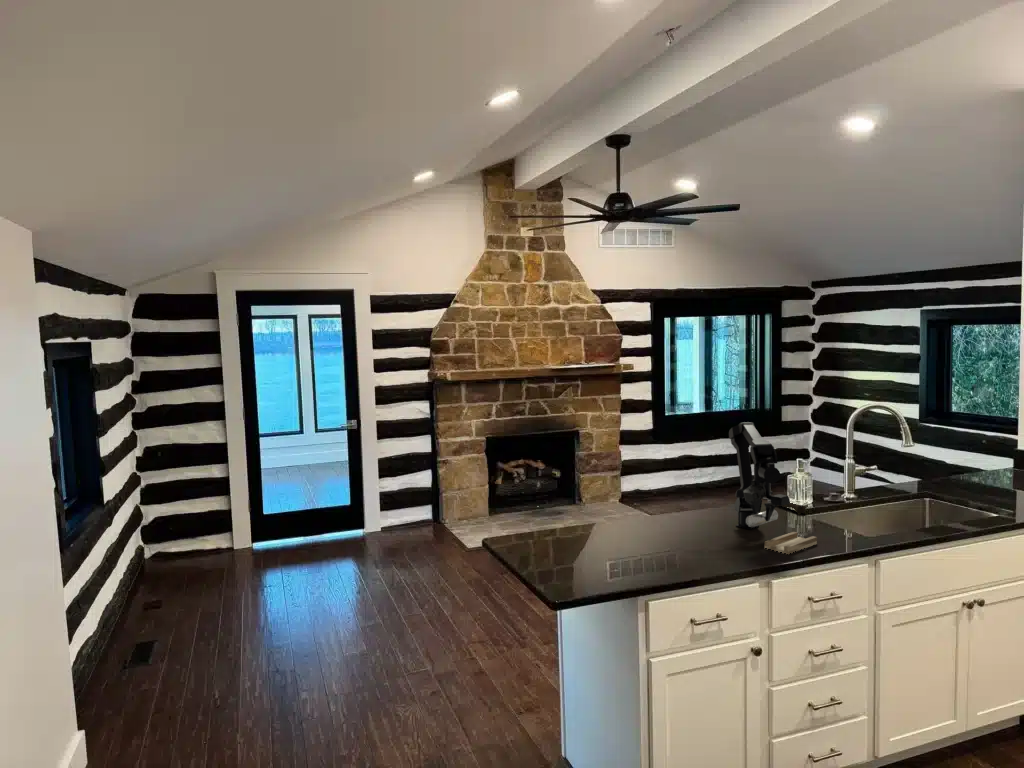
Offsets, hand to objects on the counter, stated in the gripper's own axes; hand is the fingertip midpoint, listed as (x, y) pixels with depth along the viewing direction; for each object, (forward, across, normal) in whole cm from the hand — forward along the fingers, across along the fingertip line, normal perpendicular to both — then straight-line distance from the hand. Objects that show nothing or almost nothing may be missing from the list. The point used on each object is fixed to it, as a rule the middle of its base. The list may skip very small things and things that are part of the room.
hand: (762, 519), depth 265 cm
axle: (+1, 0, 0) cm, 1 cm away
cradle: (+7, +11, 0) cm, 13 cm away
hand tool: (+8, -18, +45) cm, 49 cm away
